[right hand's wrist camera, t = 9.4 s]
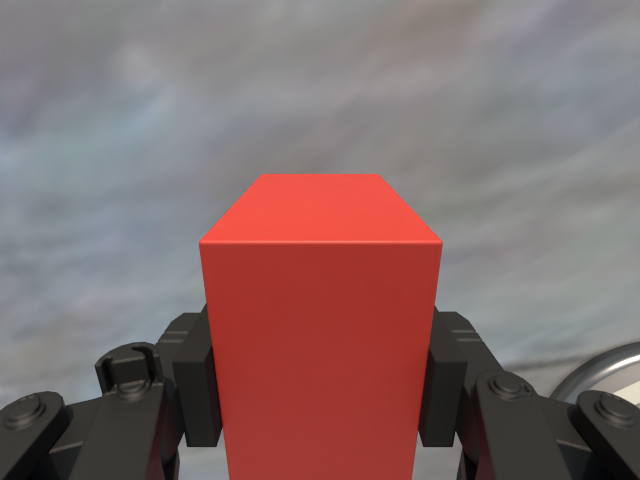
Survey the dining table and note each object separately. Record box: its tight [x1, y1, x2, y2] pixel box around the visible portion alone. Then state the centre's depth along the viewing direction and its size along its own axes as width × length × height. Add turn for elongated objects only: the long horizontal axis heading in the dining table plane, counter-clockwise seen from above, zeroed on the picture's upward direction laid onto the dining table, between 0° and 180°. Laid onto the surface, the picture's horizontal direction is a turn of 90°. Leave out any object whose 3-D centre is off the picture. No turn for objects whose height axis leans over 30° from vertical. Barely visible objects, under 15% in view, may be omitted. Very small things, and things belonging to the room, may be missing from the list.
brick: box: [199, 174, 443, 480], centre depth 13 cm, size 5×8×9 cm
